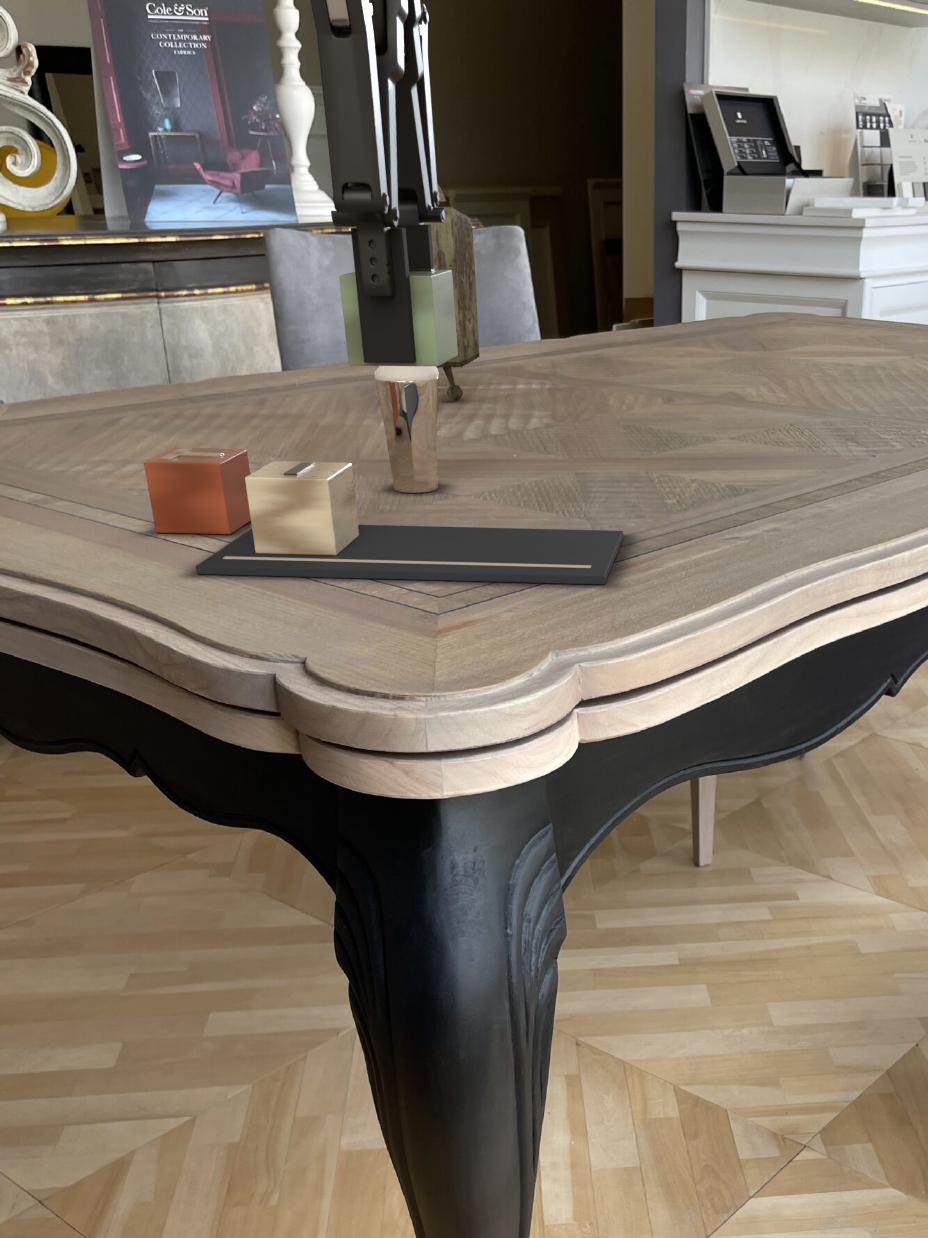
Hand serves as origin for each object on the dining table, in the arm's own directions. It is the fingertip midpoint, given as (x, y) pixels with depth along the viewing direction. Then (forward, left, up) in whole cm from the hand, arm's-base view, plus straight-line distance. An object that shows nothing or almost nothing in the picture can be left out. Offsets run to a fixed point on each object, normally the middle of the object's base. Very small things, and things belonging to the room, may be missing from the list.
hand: (403, 354), depth 73 cm
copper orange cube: (-16, +8, -12) cm, 22 cm away
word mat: (0, +2, -12) cm, 12 cm away
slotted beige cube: (-7, +2, -11) cm, 14 cm away
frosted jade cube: (0, 0, 0) cm, 0 cm away
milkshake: (-5, +21, -12) cm, 25 cm away
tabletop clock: (-13, +63, -12) cm, 66 cm away
